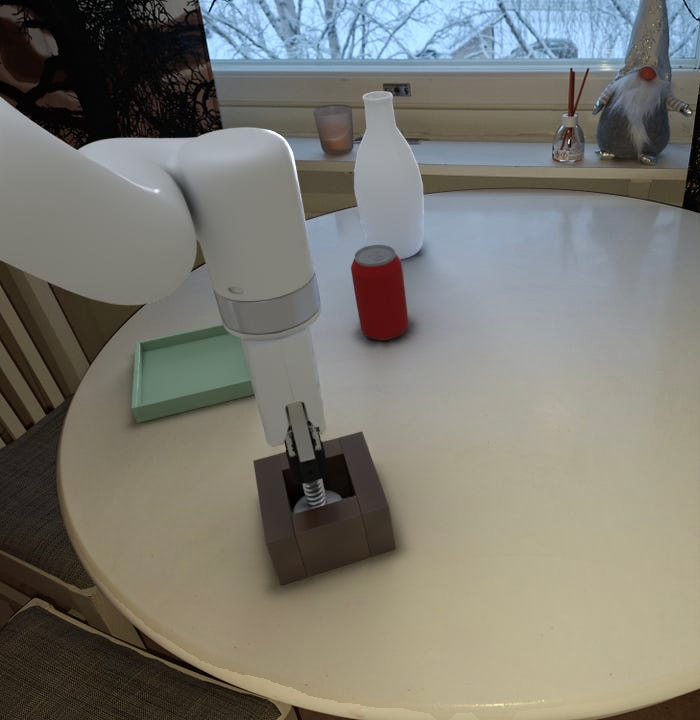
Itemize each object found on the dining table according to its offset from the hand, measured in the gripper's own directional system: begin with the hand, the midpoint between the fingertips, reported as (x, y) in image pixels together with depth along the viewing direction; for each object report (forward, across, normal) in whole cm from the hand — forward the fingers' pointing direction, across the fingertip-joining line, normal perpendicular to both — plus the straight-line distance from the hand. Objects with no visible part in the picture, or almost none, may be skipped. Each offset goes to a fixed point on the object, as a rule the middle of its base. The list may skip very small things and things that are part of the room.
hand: (309, 468), depth 63 cm
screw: (+8, 0, 0) cm, 8 cm away
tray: (+8, -32, -10) cm, 35 cm away
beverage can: (+8, -32, +15) cm, 36 cm away
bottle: (+8, -56, +23) cm, 61 cm away
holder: (+8, 0, +1) cm, 8 cm away
